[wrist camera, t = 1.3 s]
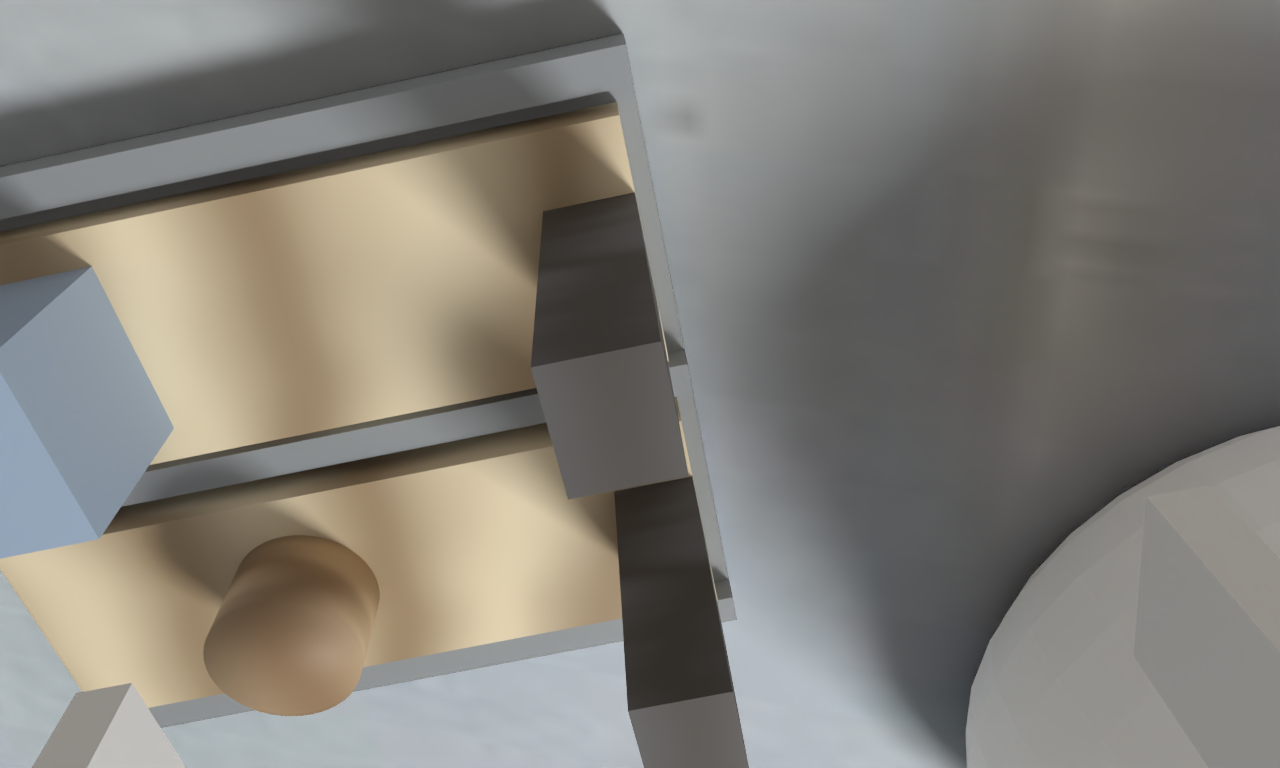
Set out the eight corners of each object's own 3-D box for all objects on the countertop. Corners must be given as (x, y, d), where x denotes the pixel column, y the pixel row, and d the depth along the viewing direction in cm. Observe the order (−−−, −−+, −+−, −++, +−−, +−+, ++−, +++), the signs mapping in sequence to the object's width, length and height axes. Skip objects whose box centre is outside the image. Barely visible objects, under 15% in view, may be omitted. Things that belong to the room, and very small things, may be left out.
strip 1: (-19, 476, 29) (-263, 739, 21) (-155, 264, 26) (-515, 474, 17) (664, 338, 29) (705, 554, 20) (616, 101, 25) (639, 238, 17)
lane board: (129, 703, 35) (112, 736, 34) (-190, 207, 26) (-231, 227, 25) (730, 589, 34) (736, 619, 33) (623, 33, 25) (625, 43, 24)
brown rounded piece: (266, 654, 32) (239, 727, 29) (211, 550, 30) (177, 619, 27) (398, 629, 32) (382, 700, 29) (352, 522, 29) (331, 589, 27)
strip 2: (116, 685, 34) (-40, 974, 25) (15, 528, 30) (-206, 800, 22) (712, 572, 33) (761, 831, 24) (676, 396, 30) (719, 626, 21)
